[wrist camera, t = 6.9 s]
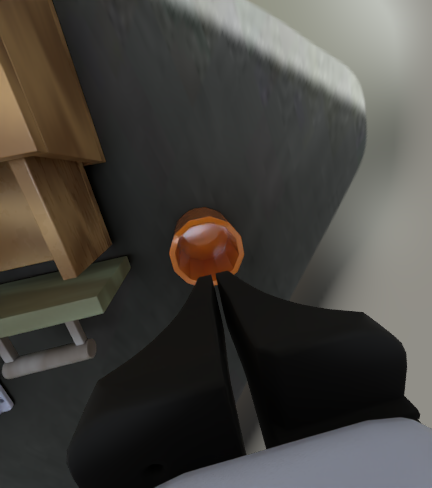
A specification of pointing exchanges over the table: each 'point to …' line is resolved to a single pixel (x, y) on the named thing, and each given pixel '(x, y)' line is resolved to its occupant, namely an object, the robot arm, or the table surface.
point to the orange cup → (205, 245)
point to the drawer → (52, 248)
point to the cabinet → (41, 89)
